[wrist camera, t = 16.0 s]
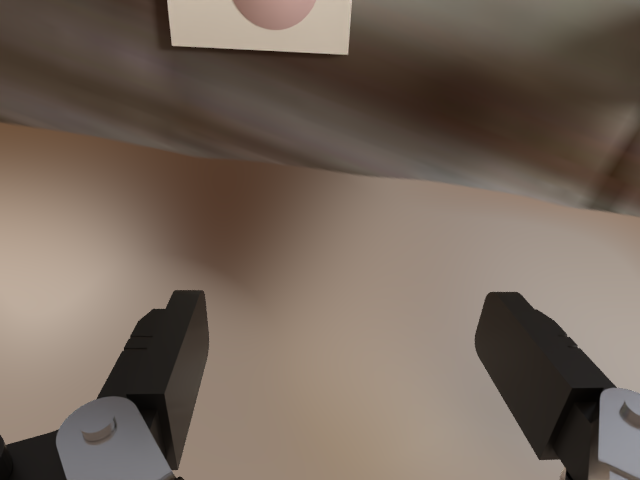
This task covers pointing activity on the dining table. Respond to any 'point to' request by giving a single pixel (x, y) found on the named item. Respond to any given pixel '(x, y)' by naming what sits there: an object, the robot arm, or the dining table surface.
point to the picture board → (262, 25)
